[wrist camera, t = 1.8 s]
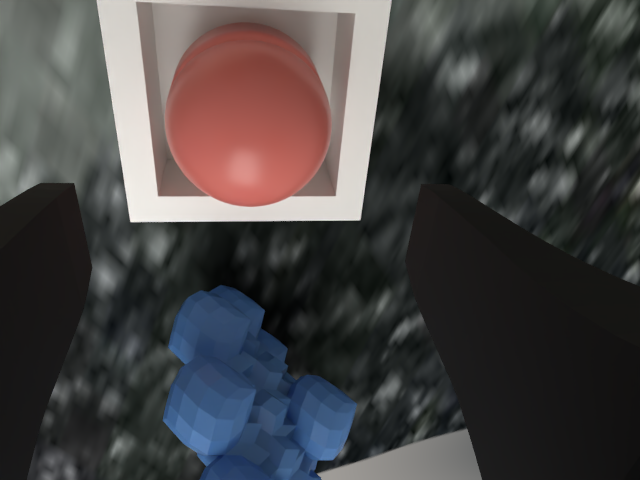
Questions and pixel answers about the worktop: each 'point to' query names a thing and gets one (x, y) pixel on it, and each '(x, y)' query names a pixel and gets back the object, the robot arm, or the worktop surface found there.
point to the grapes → (248, 395)
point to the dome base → (158, 71)
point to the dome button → (247, 115)
